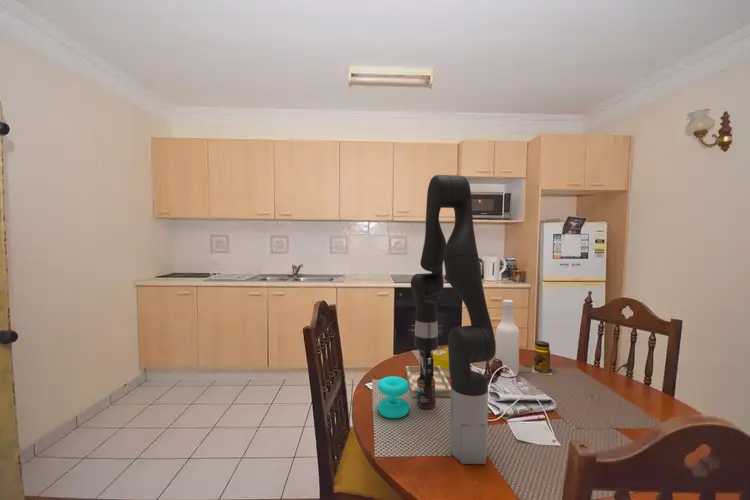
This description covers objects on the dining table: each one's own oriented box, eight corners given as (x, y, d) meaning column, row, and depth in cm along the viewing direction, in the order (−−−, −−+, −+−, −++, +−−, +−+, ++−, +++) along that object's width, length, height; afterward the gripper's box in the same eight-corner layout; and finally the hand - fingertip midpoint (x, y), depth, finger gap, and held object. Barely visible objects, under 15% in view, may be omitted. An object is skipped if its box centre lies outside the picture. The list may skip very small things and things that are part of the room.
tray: (452, 397, 119) (452, 390, 119) (412, 397, 119) (412, 390, 119) (439, 372, 141) (439, 365, 141) (405, 372, 141) (405, 366, 141)
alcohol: (497, 367, 146) (498, 297, 144) (519, 371, 141) (520, 299, 140) (493, 375, 138) (494, 301, 136) (517, 379, 134) (518, 303, 132)
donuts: (407, 374, 114) (410, 388, 104) (407, 404, 115) (410, 420, 105) (377, 374, 115) (377, 388, 105) (377, 404, 115) (377, 420, 105)
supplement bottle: (434, 401, 117) (434, 368, 116) (435, 410, 111) (436, 375, 110) (416, 400, 117) (416, 367, 117) (417, 409, 112) (417, 375, 111)
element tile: (454, 373, 141) (454, 362, 140) (426, 363, 152) (426, 352, 152) (475, 364, 151) (475, 353, 150) (447, 355, 162) (447, 345, 162)
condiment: (532, 372, 141) (532, 343, 140) (533, 365, 148) (533, 338, 148) (552, 375, 137) (552, 346, 137) (552, 368, 145) (552, 340, 144)
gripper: (442, 340, 106) (441, 391, 107) (433, 327, 120) (432, 372, 121) (417, 340, 106) (417, 391, 107) (412, 327, 120) (411, 372, 121)
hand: (425, 381), depth 114 cm, fingers open, 8 cm apart
